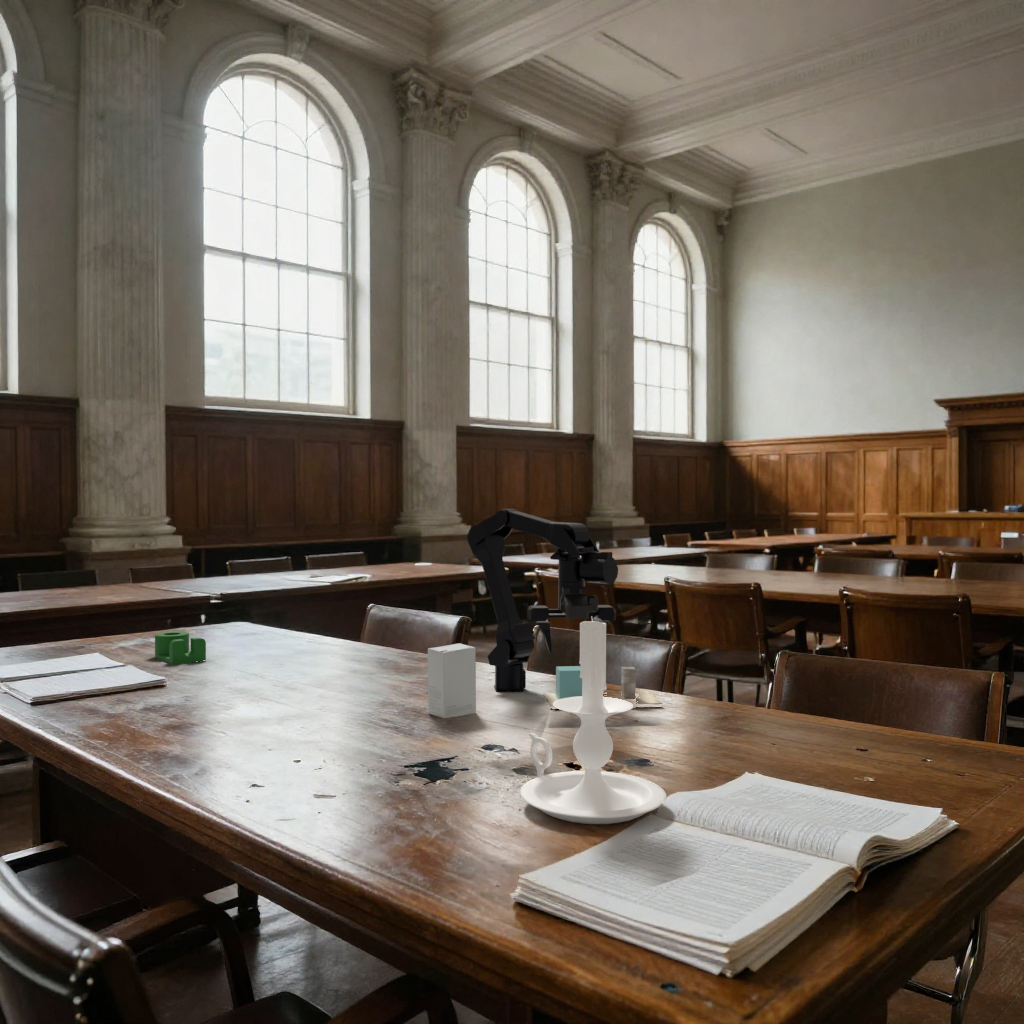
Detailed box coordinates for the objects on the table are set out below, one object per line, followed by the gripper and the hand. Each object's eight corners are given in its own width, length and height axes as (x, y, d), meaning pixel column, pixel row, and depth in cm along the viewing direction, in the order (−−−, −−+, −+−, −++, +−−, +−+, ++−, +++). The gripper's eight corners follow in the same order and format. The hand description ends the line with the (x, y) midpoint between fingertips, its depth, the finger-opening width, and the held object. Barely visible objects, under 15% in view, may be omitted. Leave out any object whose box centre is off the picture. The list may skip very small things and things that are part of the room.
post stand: (550, 710, 195) (550, 674, 195) (543, 697, 207) (543, 664, 207) (662, 707, 198) (662, 672, 197) (648, 695, 209) (648, 662, 209)
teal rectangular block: (559, 701, 199) (559, 670, 199) (555, 696, 204) (556, 666, 204) (583, 701, 199) (583, 670, 199) (579, 695, 204) (579, 666, 204)
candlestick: (580, 776, 149) (581, 602, 149) (697, 819, 129) (698, 619, 129) (474, 801, 137) (475, 611, 136) (585, 853, 117) (586, 631, 116)
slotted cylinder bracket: (150, 656, 261) (150, 633, 261) (182, 652, 266) (182, 630, 266) (172, 665, 247) (172, 641, 247) (205, 661, 252) (205, 638, 252)
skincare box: (459, 714, 191) (460, 642, 191) (477, 719, 186) (477, 646, 186) (426, 720, 186) (426, 646, 186) (443, 726, 181) (443, 650, 181)
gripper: (534, 585, 192) (534, 659, 193) (622, 584, 195) (621, 658, 195) (527, 580, 203) (526, 650, 204) (610, 579, 206) (609, 649, 206)
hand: (571, 652), depth 202 cm, fingers open, 9 cm apart
